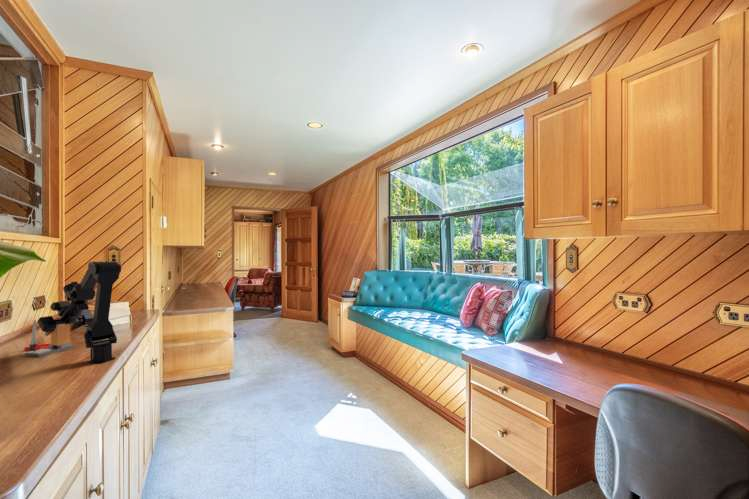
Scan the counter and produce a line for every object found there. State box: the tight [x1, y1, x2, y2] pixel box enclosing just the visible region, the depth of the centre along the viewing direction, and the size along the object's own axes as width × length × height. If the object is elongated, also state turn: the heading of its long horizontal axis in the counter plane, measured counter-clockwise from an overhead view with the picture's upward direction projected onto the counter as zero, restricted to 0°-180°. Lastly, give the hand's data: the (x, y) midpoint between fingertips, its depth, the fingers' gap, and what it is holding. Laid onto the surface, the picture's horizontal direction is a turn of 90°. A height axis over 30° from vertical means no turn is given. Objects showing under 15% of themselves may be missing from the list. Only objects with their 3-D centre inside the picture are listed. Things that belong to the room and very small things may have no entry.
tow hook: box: [23, 320, 51, 351], centre depth 156 cm, size 8×13×9 cm
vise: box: [24, 342, 75, 358], centre depth 149 cm, size 7×14×5 cm, turn 170°
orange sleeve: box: [50, 324, 71, 346], centre depth 153 cm, size 5×5×10 cm
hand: (59, 332), depth 153 cm, fingers open, 9 cm apart
